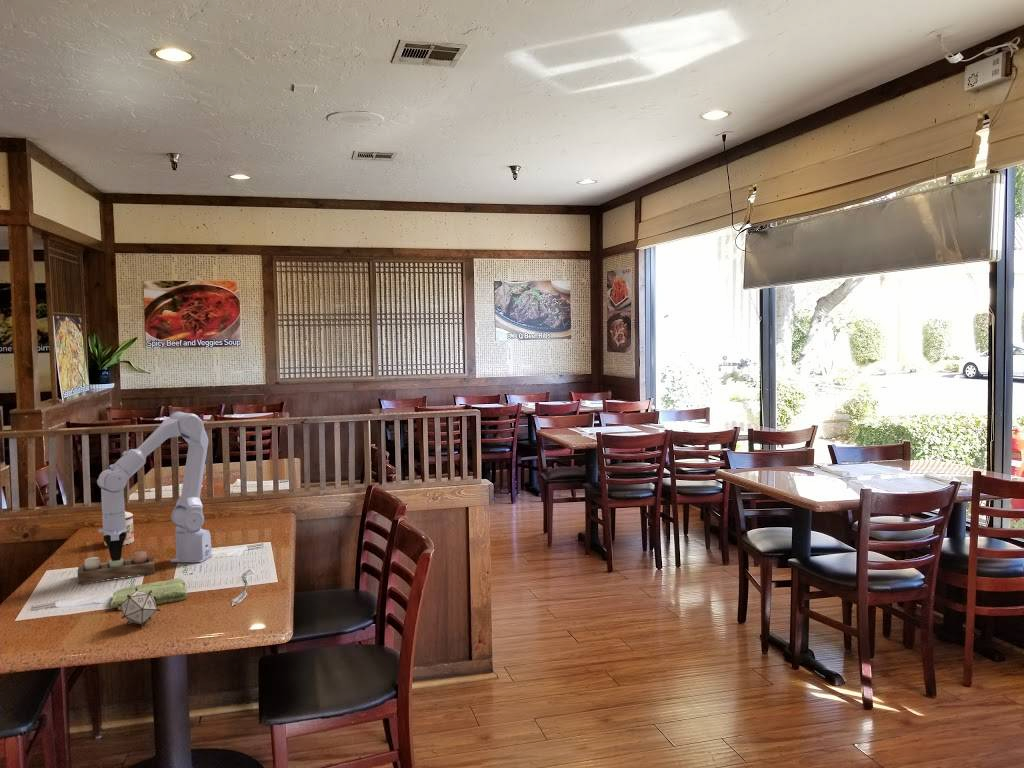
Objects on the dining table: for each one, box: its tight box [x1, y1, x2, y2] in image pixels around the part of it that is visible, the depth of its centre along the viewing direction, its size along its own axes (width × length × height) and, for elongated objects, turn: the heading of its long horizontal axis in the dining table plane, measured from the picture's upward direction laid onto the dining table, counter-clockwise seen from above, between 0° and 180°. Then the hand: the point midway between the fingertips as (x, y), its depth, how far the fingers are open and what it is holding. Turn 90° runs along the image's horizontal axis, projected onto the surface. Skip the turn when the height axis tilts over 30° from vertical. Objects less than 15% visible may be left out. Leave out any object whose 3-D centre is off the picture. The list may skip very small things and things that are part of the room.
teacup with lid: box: [103, 510, 135, 547], centre depth 256 cm, size 12×9×12 cm
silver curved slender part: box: [230, 568, 255, 607], centre depth 211 cm, size 32×1×5 cm
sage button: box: [108, 557, 124, 568], centre depth 222 cm, size 4×4×2 cm
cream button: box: [84, 556, 100, 570], centre depth 219 cm, size 4×4×2 cm
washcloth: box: [110, 577, 188, 611], centre depth 203 cm, size 13×18×3 cm
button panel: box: [77, 555, 156, 585], centre depth 222 cm, size 19×8×3 cm, turn 117°
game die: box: [117, 588, 162, 627], centre depth 185 cm, size 9×8×10 cm
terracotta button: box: [132, 550, 148, 563], centre depth 225 cm, size 4×4×2 cm
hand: (116, 560), depth 222 cm, fingers closed, pressing on sage button
